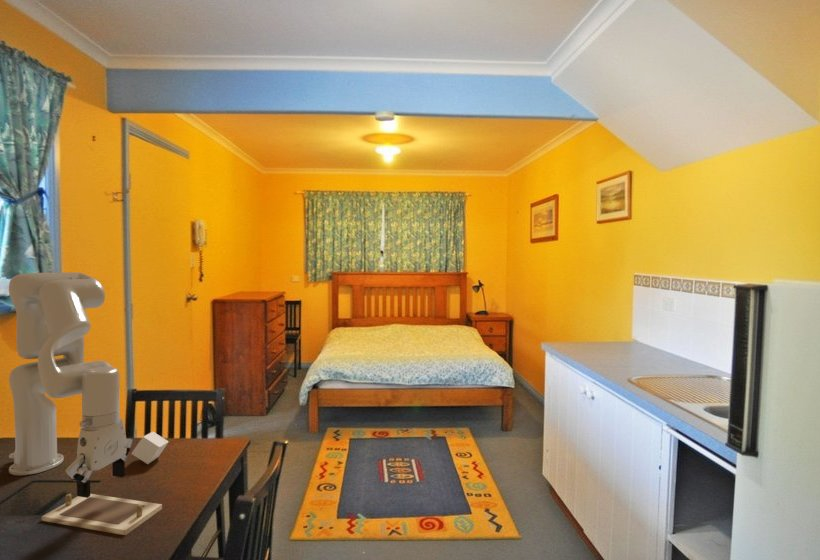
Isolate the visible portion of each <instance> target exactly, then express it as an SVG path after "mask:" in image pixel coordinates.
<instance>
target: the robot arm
mask: <svg viewBox="0 0 820 560" xmlns="http://www.w3.org/2000/svg"><path fill="white" fill-rule="evenodd" d="M8 293H9V297H10V300H11V302H12V305H13V307H14V309H15V313H16V352H17V355H18V356H19V358H21V359H23V360H37V361H33V362H27V363H24V364H20V365H18V366H16V367H14V368H12V370H11V371H10V373H9V376H8V380H9V381H8V382H9V386H10V392H11V394H12V401H13V410H14V413H13V414H14V415H13V416H14V417H13V418H14V436H15V437H14V443H15V444H14V445H15V450H14V451H13V452H12V453H10V454H9V455H8V458H9V459H13V461H14V463H12V464H11V465H10V466H9V468H8V473H9V474H11V475H12V476H27V475H29V476H30V475H35V474H39V473H42V472H45V471H49V470H52V469H54V468H56V467H57V466H60V464H62V463H63V461H64V458H65V456H64V455H63V454H62V453H58V435H57V434H58V433H57V431H58V429H57V406H56V404H55V402H54V401H53V400H52V399H51V398H53V399H62V398H67V397H73V396H77V395H81V413H82V414H81V417H82V418H81V419H82V420H80V421H79V424H78V425H79V426H80V431H79V435H78V440H77V447H76V448H77V449H76V458H75V460H73V462H71V463H70V465H69V466H67V468H65V472H66V474H67V476H68V478H69V479H71V480H73V482H76V497H77V496H79V497H85V498H88V497H90V494H91V480H90V479H89V478H90V476H91V475H92V473H93V472H98V471H99V470H101V469H103V468H105V467H107V466H109V465H111V464H112V470H111V471H112V476H113V477H117V478H124V477H125V475H126V467H125V464H126V461H127V460H128V454H129V452H130V451H131V447H132V443H133V439H131V438H127V435H126V433H127V432H126V428H125V424H124V420H123V418H121V417H120V413H121V411H120V410H121V409H120V403H121V401H120V371H119V369H118V368H117V367H113V366H112V365H111V364H110V363H109V362H108V361H105V360H96V361H95V360H94V361H88V362H85V335H87V334H88V333H89V331H90V330H91V327H92V325H91V321H90V320H89V316H88V314H87V312H86V309H95V308H99V307H102V305H104V303H105V300H106V292H105V288H104V286H103V285H102V283H101V282H100V281H99V280H97V279H96V278H94V277H93V276H90V275H87V274H86V273H81V272H29V273H20V274H16V275H14V276H13V277H12V278H11V279H10V280H9V283H8ZM59 356H63V357H61V358H59ZM55 357H58V358H55ZM45 394H47V395H45ZM48 396H49V397H48ZM77 469H78V470H77ZM83 474H84V475H83Z"/></svg>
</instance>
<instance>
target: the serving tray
mask: <svg viewBox="0 0 820 560" xmlns="http://www.w3.org/2000/svg"><path fill="white" fill-rule="evenodd" d="M64 498H65V503H64V504H62V505H59V506H58V507H56V508H54V509H52V510H50V511H48V512H47V513H45V514H44V515H41V521H42V522H48V523H53V524H54V523H55V524H60V525H65V526H70V527H71V526H72V527H77V528H82V529H88V530H93V531H94V530H95V531H99V532H106V533H109V534H115V535H122V536H127V535H129V534H130V533H131V532H132V531H134V530H135V529H137V528H138V527H139V526H140V525H142V524H143V523H145V522H146V521H147V520H149V519H151V517H153V516H155V515H156V514H157V513H158V512H160V511H162V509H163V504H162V503H155V502H148V501H141V500H135V499H128V498H122V497H114V496H108V495H102V494H94V493H90V497H88V498H85V497H79V496H77V495H76V496H75V497H74V498H72V493H68V494H65V497H64Z"/></svg>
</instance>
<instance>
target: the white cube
mask: <svg viewBox="0 0 820 560" xmlns="http://www.w3.org/2000/svg"><path fill="white" fill-rule="evenodd" d="M168 443H169V440H167V439H166V438H164V437H163V436H161V435H159V434H157V433H156V432H154V431H151V432H149V433H147V434H145V435H143V436H142V437H141V439H140V441H139V442H138V443H137V445H136V446H135V447H134V449H133V450H132V452H131V455H132V456H134V457H136V458H138V459H139V460H140V461H142V462H144V464H147V465H149V464H150V463H152V462H153V461H155V460H156V459H157V458H159V456H160V455H161V454H162V452H163V451H164V449H165V448H166V446H168Z"/></svg>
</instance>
